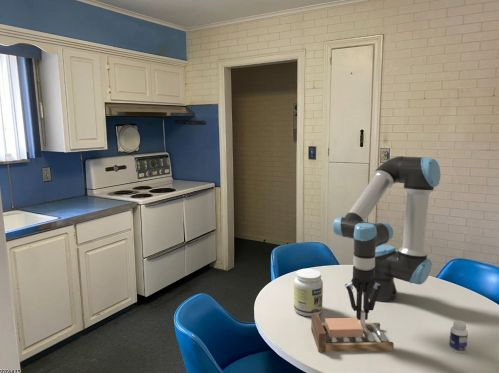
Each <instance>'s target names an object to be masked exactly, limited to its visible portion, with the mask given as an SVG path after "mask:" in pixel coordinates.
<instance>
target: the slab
mask: <svg viewBox="0 0 499 373" xmlns="http://www.w3.org/2000/svg"><path fill="white" fill-rule="evenodd" d="M324 324H325V328H326V330H327V332H328V335H329V337H336V338H341V337H348V338H353V337H361V338H363V337H364V334H363V328H362V326H361V324H360V323H359V320H358V319H357V317H330V318H329V317H328V318H324ZM327 332H326V333H327ZM328 335H327V336H328ZM329 337H328V338H329Z"/></svg>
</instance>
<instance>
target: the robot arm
mask: <svg viewBox="0 0 499 373" xmlns="http://www.w3.org/2000/svg"><path fill="white" fill-rule="evenodd" d="M371 177H372V178H371V180H370V181H369V183H368V184H367V186H366V187H365V188H364V190H363V191H362V193H361V194H360V195H359V196H358V198H357V200H356V201H355V202H354V203H353V205H352V206H351V208H350V209H349V211H348V212H346V215H344V216H338V217H336V218H335V219H334V220H333V222H332V230H333V233H334V234H335V235H337V236H340V237H343V238H347V239H352V240H353V254H352V255H353V257H352V259H353V260H352V265H353V266H352V279H351V281H350V282H349V283H345V284H344V287H345V288H346V290H347V293H348V297H349V302H350V306H351V309H352V310H353V311H354V312H356V314H355V315H356V316H355V318H357V319H358V321H359V323H360V324H361V326H362V328H363V329H365V323H366V320H368V319H369V317H368V316H369V313H370V311H374V308H375V305H376V303H377V301H378V302H390V301H392V302H393V301H394V300H396V299H397V297H398V291H397V287H396V283H395V279H398V280H401V281H403V282H407V283H410V284H415V285H417V286H418V285H423V284H424V283H425V282H426V281H427V280H428V278H429V276H430V273H431V271H432V260H431V259H430V258H428V253H427V251H426V250H425V241H426V239H425V238H426V229H427V221H428V209H429V198H430V194H432V192H434V188H435V187H437V186H439V184H440V181H441V168H440V164H439V162H438V160H436V159H435V158H431V157H425V156H424V157H419V156H418V157H417V156H403V155H402V156H394V157H392V158H390V159H388V160H386V161H384V162H382V163H381V164H380V165H379V166H378V167H377V168H376V169H375V170H374V172H373V173H372V175H371ZM399 183H400V184H403V189H404V190H405V191H406V202H405V212H404V222H403V223H404V224H403V235H402V246H401V247H399V248H398V249H396V247H395V246H394V245H390V244H387V243H388V242H389V241H390V240H392V239H393V237H394V229H393V228H392V226H391V225H390V224H389V223H386V222H378V223H373V222H368V221H367V219H368V218H369V217H370V215H371V214H372V212H373V211H374V209H375V208H376V206H377V205H378V203H379V202H380V201H381V199H382V197H383V196H384V194H385V193H386V191H387V190H388V189H389V188H390V189H391V188H392V187H393V186H394V184H399ZM396 250H398V251H396ZM353 288H354V289H355V290H356V291H355V292H356V298H355V296H354V292H353ZM355 300H356V301H355Z"/></svg>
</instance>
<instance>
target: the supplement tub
mask: <svg viewBox="0 0 499 373" xmlns="http://www.w3.org/2000/svg"><path fill="white" fill-rule="evenodd" d="M323 291H324V283H323V280H322V273H321V272H320V271H319V270H316V269H313V268H302V269H298V270H297V271H296V275H295V278H294V281H293V310H294V311H295V312H296V313H297V314H298V315H300V316H303V317H312V313H318V315H319V314H321V313H322V311H323V298H324V297H323V294H324V293H323Z"/></svg>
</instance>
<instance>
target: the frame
mask: <svg viewBox="0 0 499 373" xmlns="http://www.w3.org/2000/svg"><path fill="white" fill-rule="evenodd" d="M322 322H323V321H322V320H321V318H320V316H319V314H318V313H312V316H311V328H310V329H311V333H312V336H313V339H314V342H315V345H316V349H317V351H318V353H333V352H334V353H338V352H340V353H341V352H343V353H344V352H345V353H346V352H383V351H384V352H385V351H387V352H389V351H394V349H395V348H394V346H395V345H394V342H393V341H388V342H381V341H376V342H368V341H363V342H359V343H356V342H350V343H343V342H338V343H331V342H327V341H326V339H327V332H326V330H325V327H324V326H325V323H322ZM372 323H373V322H365V325H366V326H367V328H368V330H369V331H370V332H372V331H373V332H374V330H373V329H372V327H371V324H372ZM375 323H376V324H377V325H378V326H379V328H380V329H381V323H380V322H375Z"/></svg>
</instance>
